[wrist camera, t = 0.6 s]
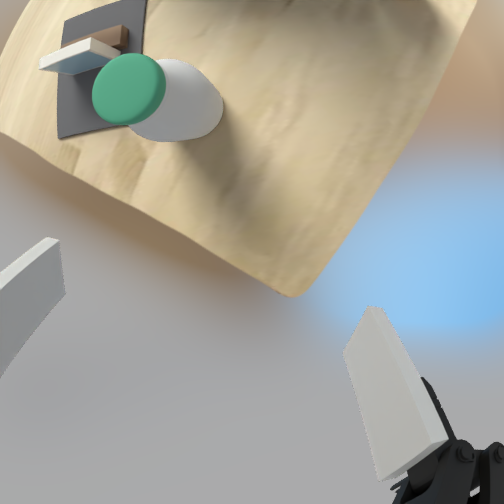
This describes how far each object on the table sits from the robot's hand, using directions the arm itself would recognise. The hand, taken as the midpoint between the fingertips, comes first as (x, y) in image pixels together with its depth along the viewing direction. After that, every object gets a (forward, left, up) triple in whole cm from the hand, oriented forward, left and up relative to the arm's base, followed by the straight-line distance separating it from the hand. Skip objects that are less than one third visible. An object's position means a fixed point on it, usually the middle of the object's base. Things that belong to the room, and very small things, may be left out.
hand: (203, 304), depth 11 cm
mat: (-19, -20, -26) cm, 38 cm away
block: (-21, -20, -26) cm, 39 cm away
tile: (-19, -20, -26) cm, 37 cm away
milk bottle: (-10, -6, -27) cm, 29 cm away
